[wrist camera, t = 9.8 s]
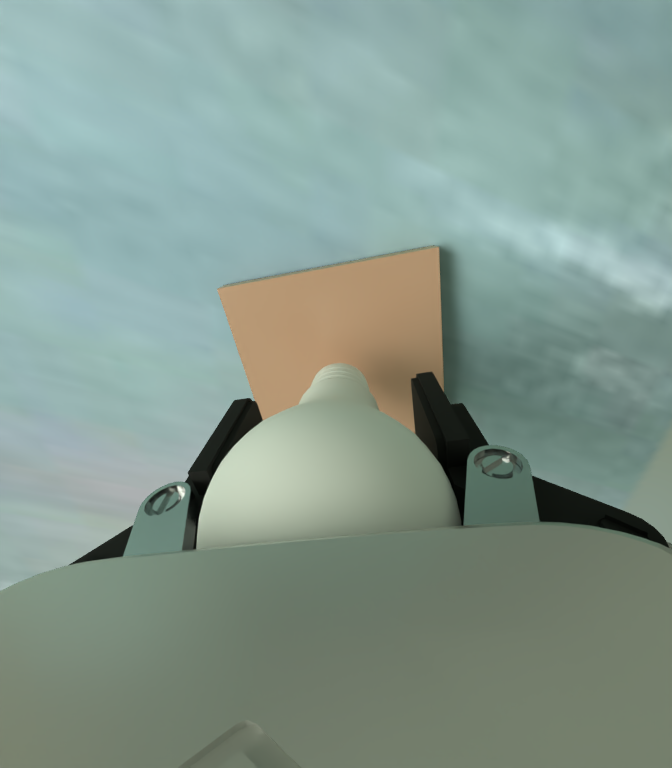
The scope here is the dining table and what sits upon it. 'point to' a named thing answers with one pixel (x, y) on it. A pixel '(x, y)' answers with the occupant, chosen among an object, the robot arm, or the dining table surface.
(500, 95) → the dining table surface
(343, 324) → the tile
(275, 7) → the dining table surface
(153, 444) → the dining table surface
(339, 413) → the lightbulb
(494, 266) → the dining table surface
